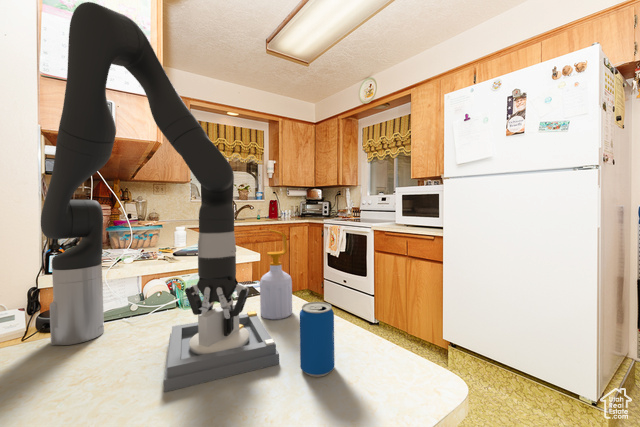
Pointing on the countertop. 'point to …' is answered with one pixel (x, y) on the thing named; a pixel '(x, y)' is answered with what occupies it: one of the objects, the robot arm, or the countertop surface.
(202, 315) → the dial knob
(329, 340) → the beverage can
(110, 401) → the countertop surface
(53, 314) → the robot arm
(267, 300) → the soap bottle
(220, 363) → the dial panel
